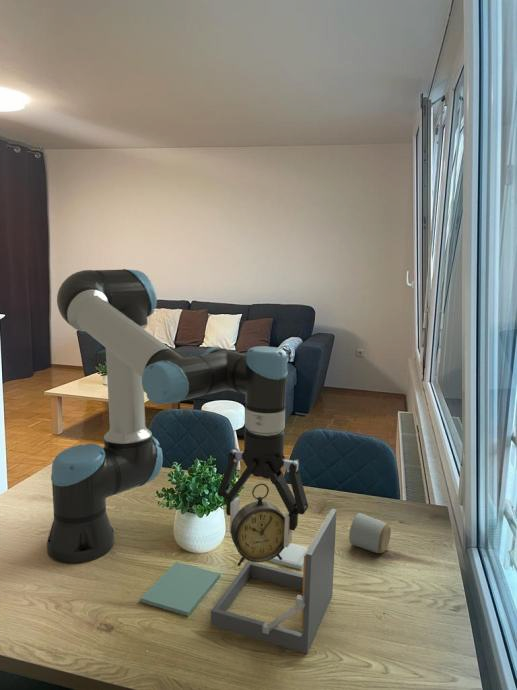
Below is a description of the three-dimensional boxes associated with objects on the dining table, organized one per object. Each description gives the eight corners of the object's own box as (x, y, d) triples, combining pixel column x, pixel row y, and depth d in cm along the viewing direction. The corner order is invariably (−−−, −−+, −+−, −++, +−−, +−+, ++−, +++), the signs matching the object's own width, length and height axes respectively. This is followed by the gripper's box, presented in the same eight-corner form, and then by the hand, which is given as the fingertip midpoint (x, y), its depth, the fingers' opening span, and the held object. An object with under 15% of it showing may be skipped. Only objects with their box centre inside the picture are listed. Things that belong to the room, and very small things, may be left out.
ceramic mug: (380, 560, 125) (383, 529, 124) (347, 549, 129) (349, 519, 128) (395, 541, 134) (397, 512, 133) (363, 531, 138) (365, 503, 137)
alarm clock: (234, 571, 103) (237, 492, 100) (227, 555, 108) (230, 479, 105) (288, 564, 106) (293, 487, 103) (279, 549, 111) (283, 475, 108)
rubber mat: (140, 601, 109) (140, 598, 108) (175, 565, 121) (175, 561, 121) (188, 616, 105) (188, 612, 104) (220, 576, 117) (220, 573, 117)
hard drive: (250, 552, 125) (301, 565, 120) (264, 535, 133) (313, 547, 128) (250, 558, 126) (301, 572, 121) (264, 541, 133) (312, 553, 128)
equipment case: (207, 628, 101) (208, 535, 98) (247, 573, 119) (249, 492, 116) (305, 658, 94) (309, 558, 91) (332, 595, 112) (336, 509, 109)
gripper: (200, 425, 103) (199, 532, 107) (318, 446, 94) (311, 561, 98) (218, 414, 109) (215, 515, 113) (329, 432, 101) (322, 541, 105)
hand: (260, 536), depth 106 cm, fingers closed on alarm clock, 11 cm apart
